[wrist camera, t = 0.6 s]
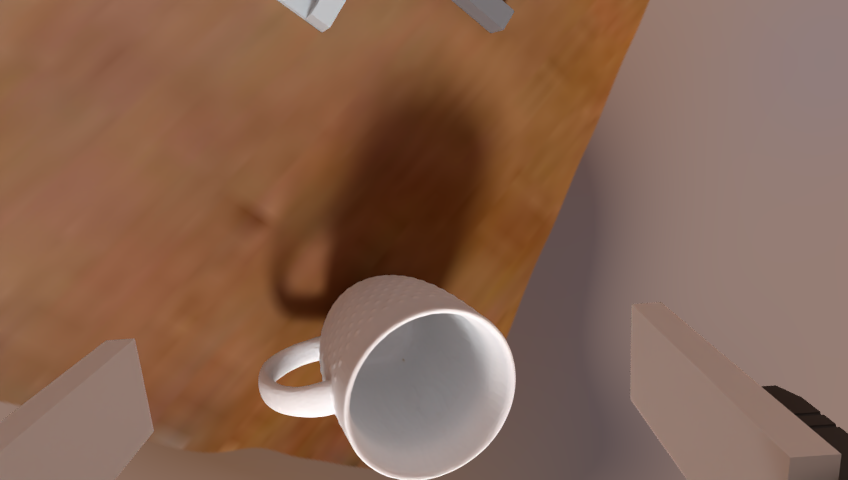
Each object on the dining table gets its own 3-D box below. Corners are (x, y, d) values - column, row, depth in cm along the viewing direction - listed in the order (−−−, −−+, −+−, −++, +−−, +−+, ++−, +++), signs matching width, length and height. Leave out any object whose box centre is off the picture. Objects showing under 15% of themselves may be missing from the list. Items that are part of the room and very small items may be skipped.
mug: (261, 416, 44) (286, 530, 32) (237, 279, 41) (255, 347, 29) (441, 369, 49) (522, 452, 37) (431, 243, 46) (514, 289, 34)
